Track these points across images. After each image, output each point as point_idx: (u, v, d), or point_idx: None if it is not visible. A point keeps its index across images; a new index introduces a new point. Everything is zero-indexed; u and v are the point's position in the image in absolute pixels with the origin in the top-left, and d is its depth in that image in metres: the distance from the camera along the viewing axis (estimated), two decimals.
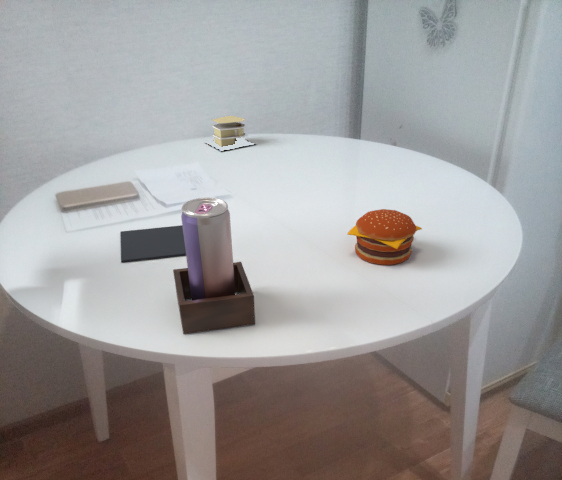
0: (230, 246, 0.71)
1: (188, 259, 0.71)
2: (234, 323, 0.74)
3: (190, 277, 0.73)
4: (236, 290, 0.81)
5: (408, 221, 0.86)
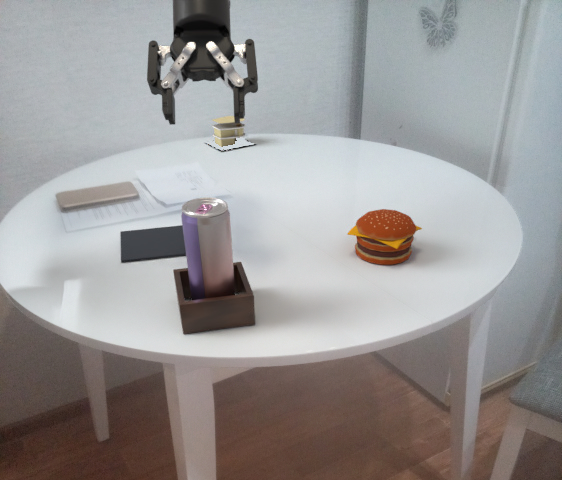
0: (230, 246, 0.71)
1: (188, 259, 0.71)
2: (234, 323, 0.74)
3: (190, 277, 0.73)
4: (236, 290, 0.81)
5: (408, 221, 0.86)
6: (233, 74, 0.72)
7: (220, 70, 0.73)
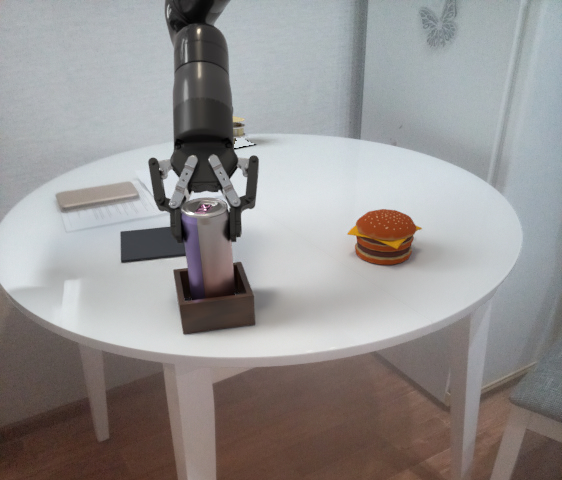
0: (230, 246, 0.71)
1: (188, 259, 0.71)
2: (234, 323, 0.74)
3: (190, 277, 0.73)
4: (236, 290, 0.81)
5: (408, 221, 0.86)
6: (231, 192, 0.69)
7: None
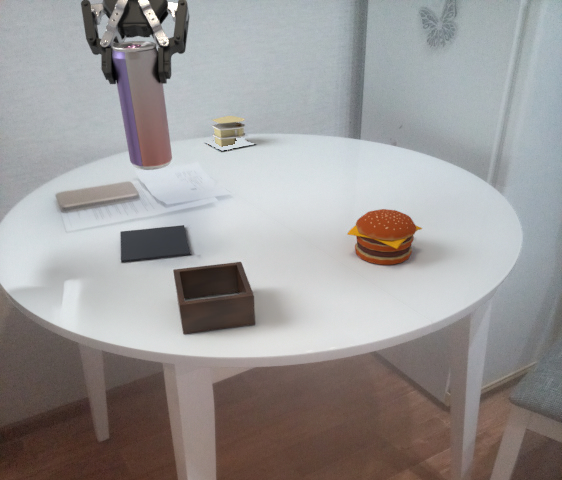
0: (161, 89, 0.74)
1: (121, 101, 0.74)
2: (234, 323, 0.74)
3: (124, 122, 0.76)
4: (236, 290, 0.81)
5: (408, 221, 0.86)
6: (160, 33, 0.72)
7: None
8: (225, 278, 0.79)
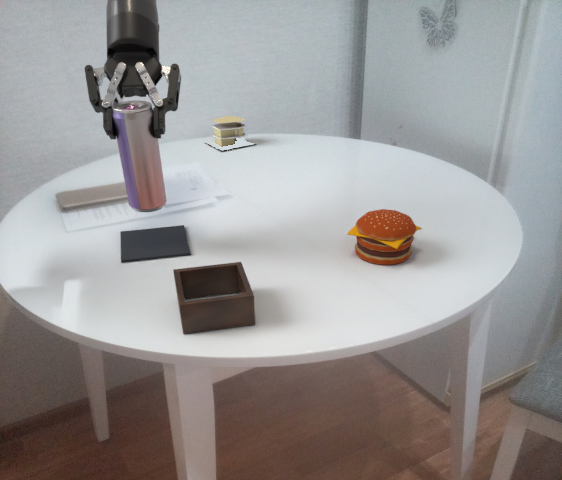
0: (156, 142, 0.83)
1: (120, 154, 0.83)
2: (234, 323, 0.74)
3: (123, 171, 0.85)
4: (236, 290, 0.81)
5: (408, 221, 0.86)
6: (155, 94, 0.81)
7: None
8: (225, 278, 0.79)
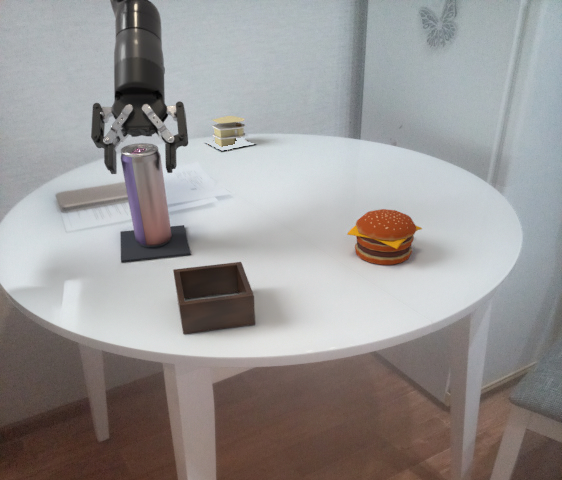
0: (162, 183, 0.87)
1: (128, 194, 0.87)
2: (234, 323, 0.74)
3: (131, 210, 0.89)
4: (236, 290, 0.81)
5: (408, 221, 0.86)
6: (165, 132, 0.84)
7: (154, 128, 0.85)
8: (225, 278, 0.79)
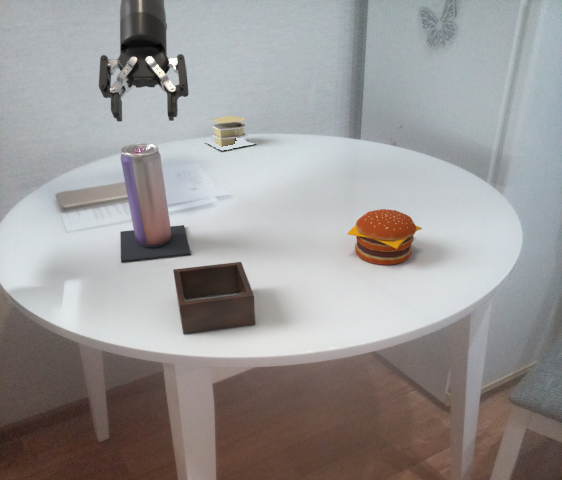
0: (162, 183, 0.87)
1: (128, 194, 0.87)
2: (234, 323, 0.74)
3: (131, 210, 0.89)
4: (236, 290, 0.81)
5: (408, 221, 0.86)
6: (167, 82, 0.91)
7: (157, 79, 0.92)
8: (225, 278, 0.79)
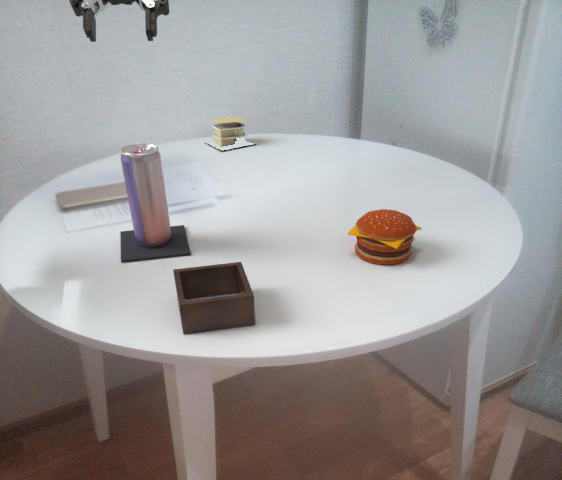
0: (162, 183, 0.87)
1: (128, 194, 0.87)
2: (234, 323, 0.74)
3: (131, 210, 0.89)
4: (236, 290, 0.81)
5: (408, 221, 0.86)
6: None
7: None
8: (225, 278, 0.79)
